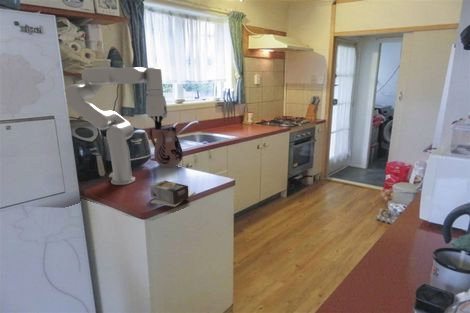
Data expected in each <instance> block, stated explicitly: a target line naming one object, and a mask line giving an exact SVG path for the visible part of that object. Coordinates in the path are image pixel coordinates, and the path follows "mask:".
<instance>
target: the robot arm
mask: <svg viewBox="0 0 470 313" xmlns="http://www.w3.org/2000/svg"><path fill="white" fill-rule="evenodd" d="M162 76H163V74H162V70H161V68H160V67H137V66H136V67H114V66H108V67H107V66H105V67H103V66H101V67H87V68H84V69H83V71H82V73H81V79H82V81H83V82H84V83H83V82H82V83H73V84H70V85H68V86H66V87H65V89H64V91H65V92H66V98H67V103H66V105H67V107H69V109H71V110H72V111H73V112H75V113H76V114H77V115H78V116H80V117H82V118H83V119H84V120H85V121H87V122H88V123H90V124H91V125H92V126H93V127H95V128H96V129H98V130H100V131H101V130H102V131H103V130H106V129H107V130H106V132H105V133H106V136H105V137H106V141H107V143H108V146H109V153H110V158H111V167H112V172H110V174H109V175H108V177H109V178H112V179H111V180H110V182H111V185H115V186H116V185H117V186H123V185H130V184H132V183H134V182H135V181H136V177H135V176H133V174H132V164H131V154H130V149H129V145H128V142H127V140H128V139H131V137H133V135H134V133H135V128H134V127H133V125H132V123H131V122H129V121H128V120H127V119H125V118H124V117H122V116H121V114H119V113H117V112H116V111H114V110H111V109H105V110H101V109H100V108H98V107H97V106H95V105H94V104H93V103H91V102H89V101H87V100H90V99H92V98H93V97H95V96H96V95H97V93H98V92H99V91H100V90H101V88H103V86H106V85H107V86H108V85H119V84H120V85H121V84H123V85H125V84H126V85H127V84H143V83H145V84H146V90H145V93H146V94H147V95H146V96H145V97H146V98H145V99H146V100H145V112H146V115H147V117H148V118H150V119H152V120H153V122H154V127H155V129H158V130H159V129H162V126H163V124H162V121H163V120H164V119H166V118H168V115H167V114H168V107H167V101H166V96H165V95H164V89H163V77H162Z"/></svg>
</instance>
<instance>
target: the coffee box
mask: <svg viewBox="0 0 470 313" xmlns="http://www.w3.org/2000/svg"><path fill="white" fill-rule="evenodd" d="M149 189H150V191H149V192H150V197H151V198H153V199H159V200H162V201H165V202H168V203H172V204H177V203H179V202H181V203H183V202H184V201H186V200H188V199H189V198H190V197H189V196H188V194H189V193H188V191H189V186H188V185H186V184H181V183H176V182H173V181H168V180H165V179H164V180H161V181H158V182H156V183H153V184H150V185H149ZM182 201H183V202H182Z"/></svg>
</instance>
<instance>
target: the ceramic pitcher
mask: <svg viewBox="0 0 470 313" xmlns="http://www.w3.org/2000/svg"><path fill="white" fill-rule="evenodd" d="M153 130H154V131H156V132H157V135H156V140H155V139H154V135H153ZM148 135H149V139H150V142H151V143H152V146H153V147H154V150H153V153H154V154H153V156H154V160H155V161H156V163H157V164H158V165H159V166H161V167H162V168H173V167H177V166H178V165H179V164H180V163H181V162H182V161H183V155H184V153H183V147H182V146H181V145H182V144H181V143H180V139H179V137H178V135H177V127H176V126H174V125H172V124H171V125H162V129H159V130H158V129H155V126H152V127H151V128H150V129H149V130H148Z"/></svg>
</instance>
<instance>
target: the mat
mask: <svg viewBox="0 0 470 313" xmlns="http://www.w3.org/2000/svg"><path fill="white" fill-rule="evenodd" d="M196 192H197V191H194V190H188V193H189V194H188V196H189V198H190V197H191V196H193V195H194V194H196ZM183 202H184V201H182V202H179V203H177V204H172V203H168V202H165V201H162V200H159V199H155V198H153V199H152V200H151V201H150V203H151V204H155V203H156V205H161V204H162V206H168V207H169V206H170V207H174V208H175V207H177V206H178V205H180V204H182V203H183Z"/></svg>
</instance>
